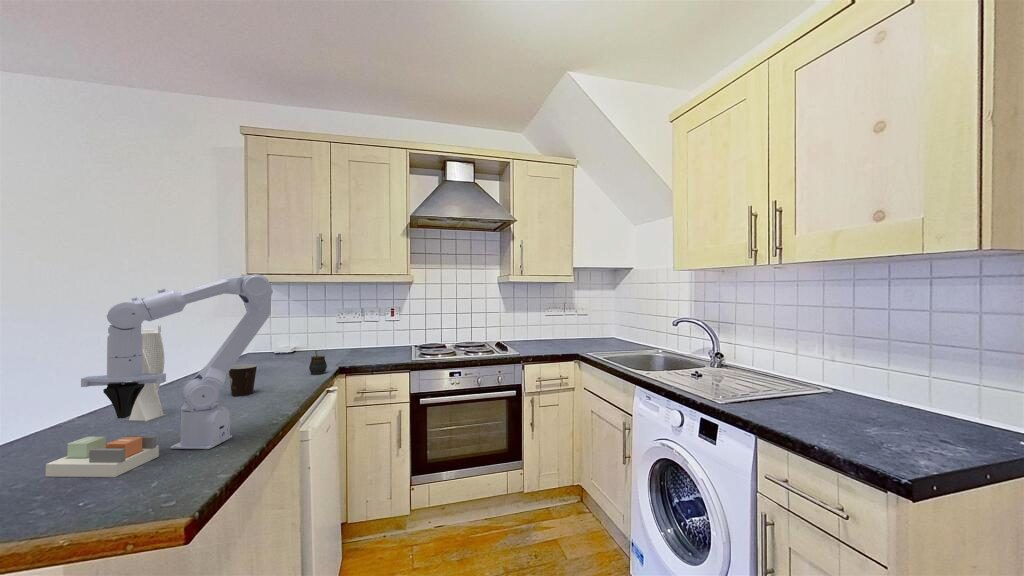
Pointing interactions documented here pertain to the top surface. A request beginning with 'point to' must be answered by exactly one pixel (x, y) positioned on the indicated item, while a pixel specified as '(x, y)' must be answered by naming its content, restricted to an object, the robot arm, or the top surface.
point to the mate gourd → (317, 364)
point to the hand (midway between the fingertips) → (124, 417)
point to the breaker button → (127, 445)
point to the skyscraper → (148, 398)
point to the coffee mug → (242, 379)
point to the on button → (84, 447)
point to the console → (104, 461)
